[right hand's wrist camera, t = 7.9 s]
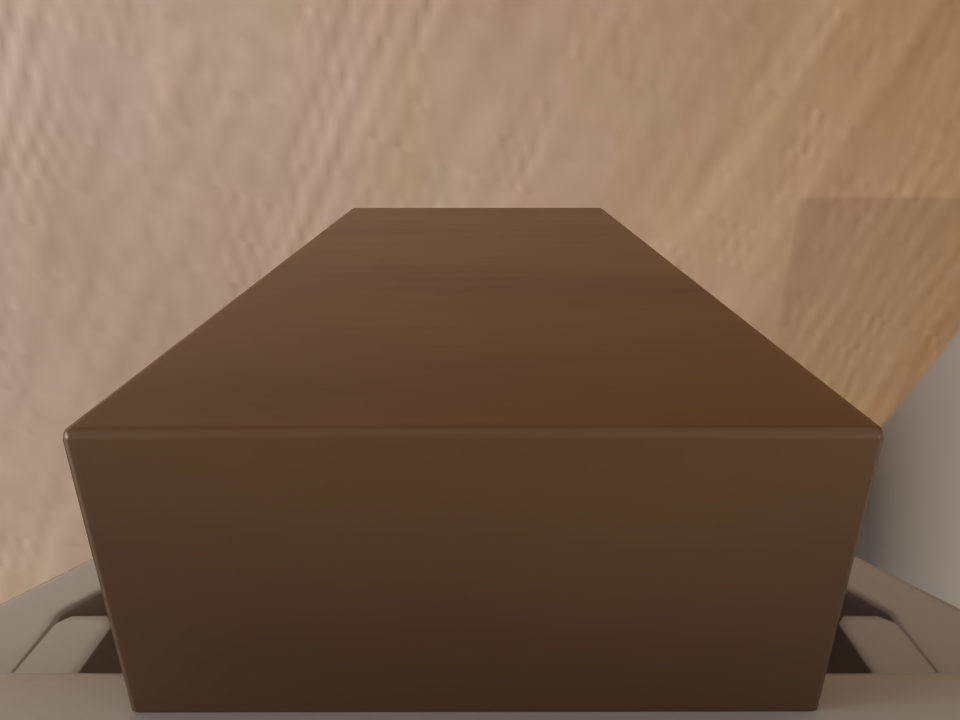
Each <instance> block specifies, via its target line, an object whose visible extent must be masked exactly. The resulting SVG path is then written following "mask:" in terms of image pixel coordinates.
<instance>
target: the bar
mask: <svg viewBox="0 0 960 720" xmlns="http://www.w3.org/2000/svg"><path fill="white" fill-rule="evenodd" d="M883 439H884V438H883V431H882V429H881V427H879V426H878V425H877V424H876V423H874V422H873V421H872V420H871V419H869V418H868V417H867V416H865V415H864V414H863V413H862V412H860V411H859V410H858V409H857V408H855V407H854V406H853V405H851V404H850V403H849V402H848V401H846V400H845V399H844V398H842V397H841V396H840V395H839V394H837V393H836V392H835V391H834V390H832V389H831V388H830V387H828V386H827V385H826V384H825V383H823V382H822V381H821V380H820V379H818V378H817V377H816V376H814V375H813V374H812V373H811V372H809V371H808V370H807V369H805V368H804V367H803V366H802V365H800V364H799V363H798V362H797V361H795V360H794V359H793V358H791V357H790V356H789V355H788V354H786V353H785V352H784V351H783V350H781V349H780V348H779V347H777V346H776V345H775V344H774V343H772V342H771V341H770V340H769V339H767V338H766V337H765V336H763V335H762V334H761V333H760V332H758V331H757V330H756V329H754V328H753V327H752V326H751V325H749V324H748V323H747V322H746V321H744V320H743V319H742V318H740V317H739V316H738V315H737V314H735V313H734V312H733V311H732V310H730V309H729V308H728V307H726V306H725V305H724V304H723V303H721V302H720V301H719V300H718V299H716V298H715V297H714V296H712V295H711V294H710V293H709V292H707V291H706V290H705V289H703V288H702V287H701V286H700V285H698V284H697V283H696V282H695V281H693V280H692V279H691V278H689V277H688V276H687V275H686V274H684V273H683V272H682V271H681V270H679V269H678V268H677V267H675V266H674V265H673V264H672V263H670V262H669V261H668V260H666V259H665V258H664V257H663V256H661V255H660V254H659V253H658V252H656V251H655V250H654V249H652V248H651V247H650V246H649V245H647V244H646V243H645V242H644V241H642V240H641V239H640V238H638V237H637V236H636V235H635V234H633V233H632V232H631V231H630V230H628V229H627V228H626V227H624V226H623V225H622V224H621V223H619V222H618V221H617V220H615V219H614V218H613V217H612V216H610V215H609V214H608V213H607V212H605V211H604V210H603V209H601V208H354V209H352V210H350V211H349V212H348V213H346V214H345V215H344V216H342V217H341V218H340V219H339V220H337V221H336V222H335V223H333V224H332V225H331V226H329V227H328V228H327V229H326V230H324V231H323V232H322V233H320V234H319V235H318V236H316V237H315V238H314V239H313V240H311V241H310V242H309V243H307V244H306V245H305V246H303V247H302V248H301V249H299V250H298V251H297V252H296V253H294V254H293V255H292V256H290V257H289V258H288V259H286V260H285V261H284V262H283V263H281V264H280V265H279V266H277V267H276V268H275V269H273V270H272V271H271V272H270V273H268V274H267V275H266V276H264V277H263V278H262V279H260V280H259V281H258V282H257V283H255V284H254V285H253V286H251V287H250V288H249V289H247V290H246V291H245V292H244V293H242V294H241V295H240V296H238V297H237V298H236V299H234V300H233V301H232V302H230V303H229V304H228V305H227V306H225V307H224V308H223V309H221V310H220V311H219V312H217V313H216V314H215V315H214V316H212V317H211V318H210V319H208V320H207V321H206V322H204V323H203V324H202V325H201V326H199V327H198V328H197V329H195V330H194V331H193V332H191V333H190V334H189V335H188V336H186V337H185V338H184V339H182V340H181V341H180V342H178V343H177V344H176V345H175V346H173V347H172V348H171V349H169V350H168V351H167V352H165V353H164V354H163V355H162V356H160V357H159V358H158V359H156V360H155V361H154V362H152V363H151V364H150V365H148V366H147V367H146V368H145V369H143V370H142V371H141V372H139V373H138V374H137V375H135V376H134V377H133V378H132V379H130V380H129V381H128V382H126V383H125V384H124V385H122V386H121V387H120V388H119V389H117V390H116V391H115V392H113V393H112V394H111V395H109V396H108V397H107V398H106V399H104V400H103V401H102V402H100V403H99V404H98V405H96V406H95V407H94V408H93V409H91V410H90V411H89V412H87V413H86V414H85V415H83V416H82V417H81V418H79V419H78V420H77V421H76V422H74V423H73V424H72V425H70V426H69V427H68V428H66V430H65V432H64V435H63V442H64V446H65V450H66V454H67V458H68V462H69V466H70V470H71V473H72V477H73V481H74V485H75V489H76V493H77V497H78V501H79V505H80V509H81V513H82V516H83V520H84V524H85V528H86V532H87V536H88V540H89V544H90V548H91V552H92V556H93V560H94V563H95V567H96V571H97V575H98V579H99V583H100V587H101V591H102V595H103V599H104V603H105V606H106V610H107V614H108V618H109V622H110V626H111V630H112V634H113V638H114V642H115V646H116V649H117V653H118V657H119V661H120V665H121V669H122V673H123V677H124V681H125V685H126V689H127V693H128V696H129V700H130V704H131V708H132V711H134V712H137V713H195V712H805V711H815V710H817V708H818V704H819V700H820V696H821V692H822V688H823V683H824V679H825V675H826V671H827V667H828V663H829V659H830V655H831V651H832V647H833V643H834V639H835V634H836V630H837V626H838V622H839V618H840V614H841V610H842V606H843V602H844V598H845V594H846V590H847V585H848V581H849V577H850V573H851V569H852V565H853V561H854V557H855V553H856V549H857V545H858V541H859V537H860V532H861V528H862V524H863V520H864V516H865V512H866V508H867V504H868V500H869V496H870V492H871V488H872V483H873V479H874V475H875V471H876V467H877V463H878V459H879V455H880V451H881V447H882V443H883Z"/></svg>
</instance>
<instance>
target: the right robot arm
mask: <svg viewBox="0 0 960 720" xmlns="http://www.w3.org/2000/svg"><path fill="white" fill-rule="evenodd" d="M0 720H960V609H958V608H956V607H954V606H952V605H950V604H948V603H946V602H944V601H942V600H940V599H938V598H936V597H935V596H933V595H930V594H929V593H926V592H925V591H923V590H921V589H919V588H917V587H915V586H913V585H911V584H909V583H907V582H905V581H903V580H901V579H899V578H897V577H895V576H893V575H891V574H889V573H887V572H885V571H883V570H881V569H879V568H877V567H875V566H873V565H871V564H869V563H867V562H865V561H863V560H861V559H859V558H857V557H854V561H853V565H852V569H851V573H850V577H849V581H848V585H847V590H846V594H845V598H844V602H843V606H842V610H841V614H840V618H839V622H838V626H837V630H836V634H835V639H834V643H833V647H832V651H831V655H830V659H829V663H828V667H827V671H826V675H825V679H824V683H823V688H822V692H821V696H820V700H819V704H818V708H817V710H815V711H805V712H195V713H137V712H134V711H132V708H131V704H130V700H129V696H128V693H127V689H126V685H125V681H124V677H123V673H122V669H121V665H120V661H119V657H118V653H117V649H116V646H115V642H114V638H113V634H112V630H111V626H110V622H109V618H108V614H107V610H106V606H105V603H104V599H103V595H102V591H101V587H100V583H99V579H98V575H97V571H96V567H95V563H94V560H93V559H91V560H89V561H87V562H85V563H83V564H81V565H79V566H77V567H75V568H73V569H71V570H69V571H67V572H65V573H63V574H61V575H59V576H57V577H55V578H53V579H51V580H49V581H47V582H45V583H43V584H41V585H39V586H37V587H35V588H33V589H31V590H29V591H27V592H25V593H23V594H21V595H19V596H17V597H15V598H13V599H11V600H9V601H7V602H5V603H3V604H1V605H0Z"/></svg>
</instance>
